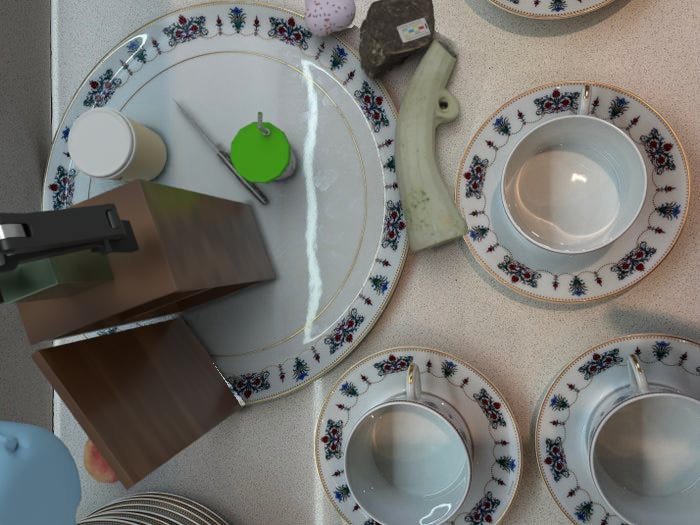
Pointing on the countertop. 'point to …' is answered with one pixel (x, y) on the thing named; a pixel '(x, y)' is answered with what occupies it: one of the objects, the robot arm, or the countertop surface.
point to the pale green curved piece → (427, 153)
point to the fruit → (97, 465)
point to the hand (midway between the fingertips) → (64, 262)
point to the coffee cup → (115, 147)
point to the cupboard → (160, 262)
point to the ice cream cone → (328, 15)
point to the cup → (262, 153)
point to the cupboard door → (140, 393)
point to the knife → (230, 164)
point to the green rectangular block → (56, 277)
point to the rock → (394, 33)
